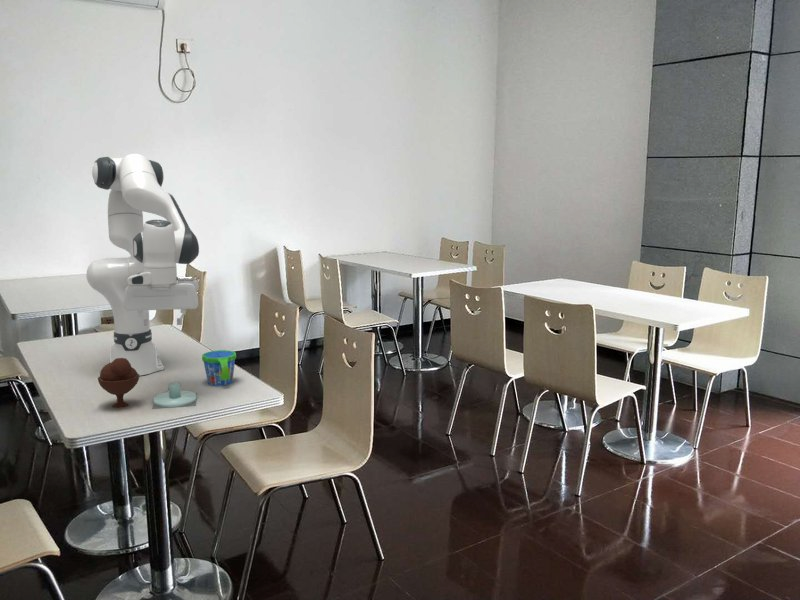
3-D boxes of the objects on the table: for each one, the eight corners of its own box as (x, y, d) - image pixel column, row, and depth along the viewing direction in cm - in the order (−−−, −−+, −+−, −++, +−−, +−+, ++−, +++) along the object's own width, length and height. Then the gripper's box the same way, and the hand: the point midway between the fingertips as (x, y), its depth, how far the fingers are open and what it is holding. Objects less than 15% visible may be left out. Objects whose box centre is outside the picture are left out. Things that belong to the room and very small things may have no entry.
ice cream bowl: (145, 401, 206) (142, 352, 203) (132, 414, 195) (129, 362, 192) (109, 401, 206) (106, 352, 203) (94, 414, 195) (90, 362, 192)
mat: (155, 398, 209) (155, 395, 209) (197, 395, 212) (196, 393, 212) (152, 411, 197) (151, 408, 197) (196, 408, 200) (195, 405, 200)
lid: (155, 396, 209) (154, 379, 208) (196, 393, 212) (196, 376, 211) (151, 409, 197) (150, 391, 196) (195, 405, 200) (195, 388, 199)
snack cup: (201, 379, 228) (199, 349, 227) (233, 376, 232) (232, 346, 230) (205, 393, 214) (204, 361, 212) (240, 389, 218) (239, 358, 216)
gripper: (198, 275, 204) (200, 322, 205) (124, 276, 199) (126, 324, 200) (198, 277, 197) (199, 325, 199) (121, 279, 192) (123, 328, 194)
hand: (162, 325), depth 200 cm, fingers open, 8 cm apart
